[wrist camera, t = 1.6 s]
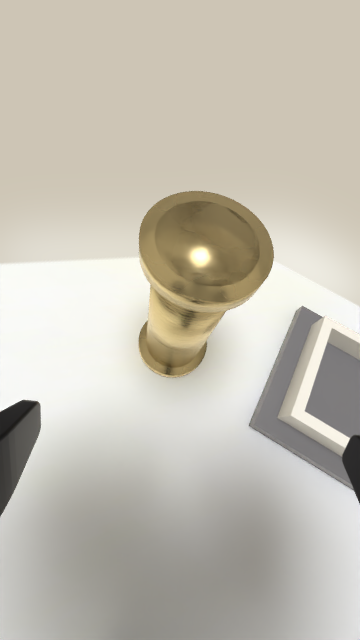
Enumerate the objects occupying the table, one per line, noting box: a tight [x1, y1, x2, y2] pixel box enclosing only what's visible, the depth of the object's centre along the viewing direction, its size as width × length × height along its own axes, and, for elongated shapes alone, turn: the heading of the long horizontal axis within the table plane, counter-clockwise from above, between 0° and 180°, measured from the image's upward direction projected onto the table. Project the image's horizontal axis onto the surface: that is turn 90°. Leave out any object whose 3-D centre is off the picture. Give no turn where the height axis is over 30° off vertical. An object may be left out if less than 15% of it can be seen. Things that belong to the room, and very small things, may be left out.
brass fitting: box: [139, 191, 274, 378], centre depth 17 cm, size 6×6×13 cm
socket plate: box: [249, 306, 360, 490], centre depth 21 cm, size 12×12×3 cm
